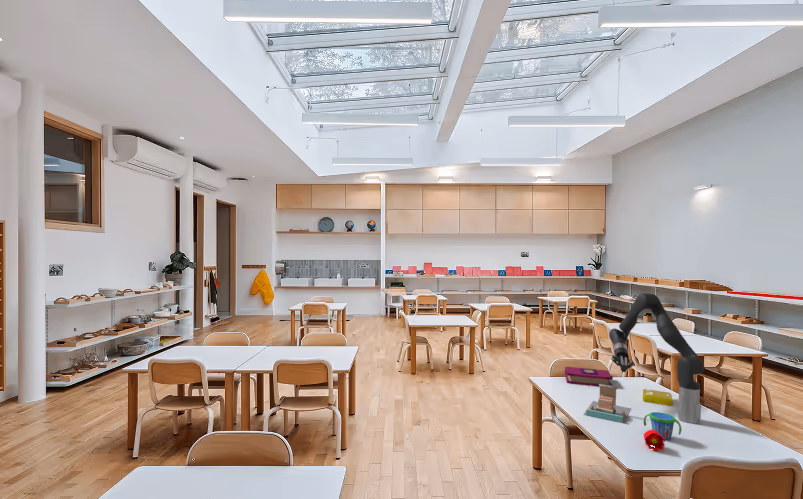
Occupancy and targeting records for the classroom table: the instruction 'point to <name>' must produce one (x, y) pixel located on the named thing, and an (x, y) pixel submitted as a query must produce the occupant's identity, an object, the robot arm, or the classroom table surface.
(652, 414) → the snack cup
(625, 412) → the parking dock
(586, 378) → the book
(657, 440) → the flower
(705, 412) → the classroom table surface
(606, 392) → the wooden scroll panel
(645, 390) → the element tile
